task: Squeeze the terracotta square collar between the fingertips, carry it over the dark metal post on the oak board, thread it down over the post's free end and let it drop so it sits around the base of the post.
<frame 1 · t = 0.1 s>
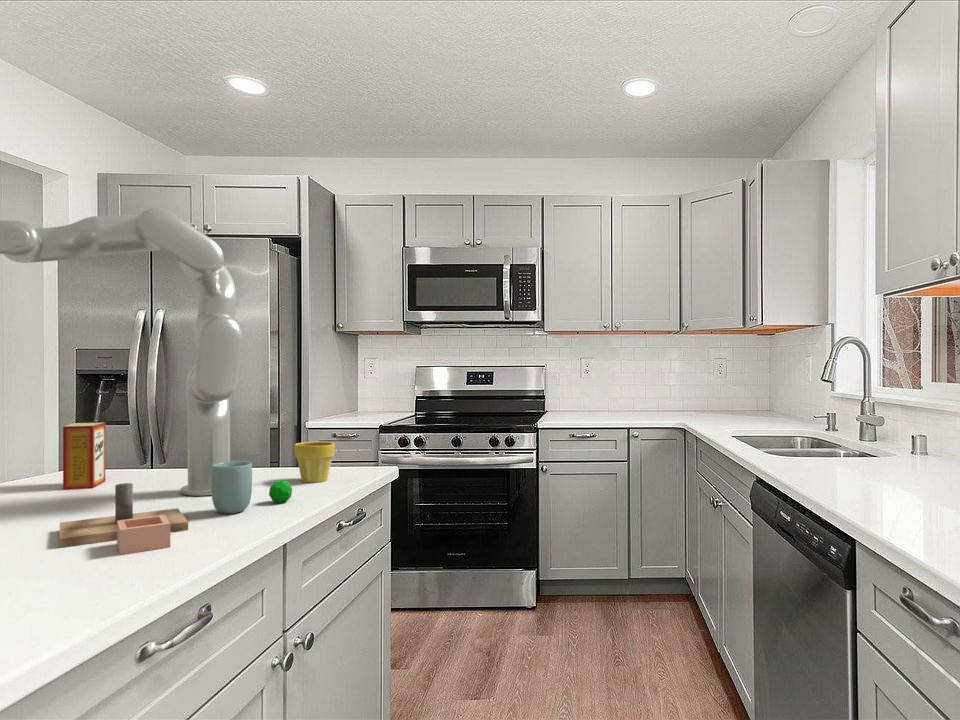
collar: (143, 545, 106), on the worktop
polyhedron: (280, 503, 139), on the worktop
post board: (124, 530, 116), on the worktop
plant pot: (314, 481, 165), on the worktop
cup: (231, 512, 130), on the worktop
baking soda box: (84, 486, 159), on the worktop
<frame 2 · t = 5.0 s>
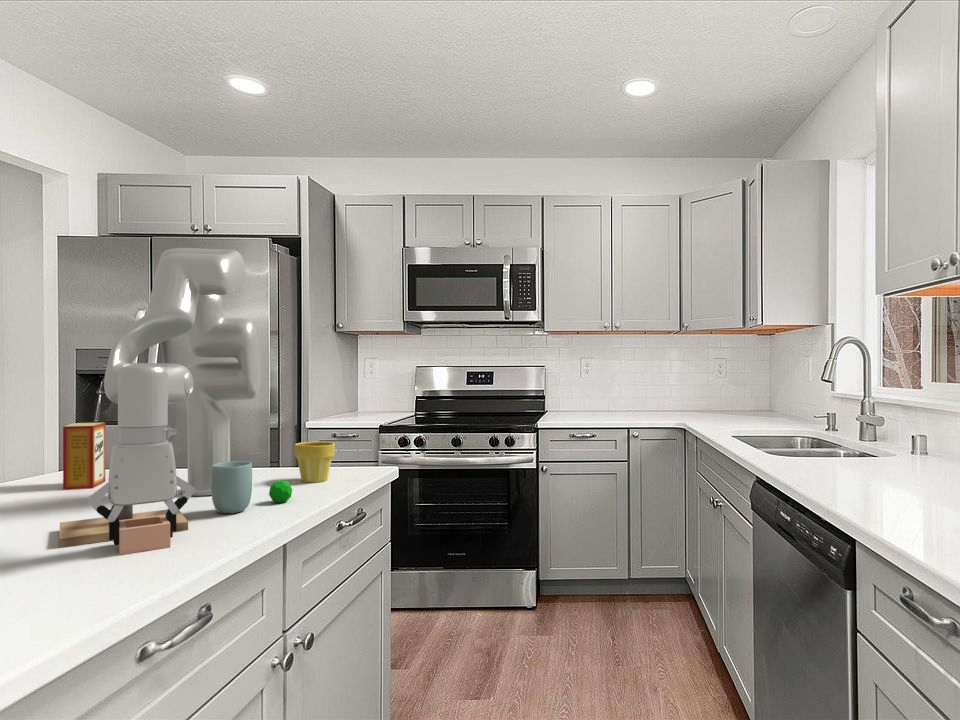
hand: (143, 539, 106), 1 cm above the worktop, tool pointing down, fingers closed on collar, 7 cm apart
collar: (143, 545, 106), on the worktop, touching gripper
everything else where it was.
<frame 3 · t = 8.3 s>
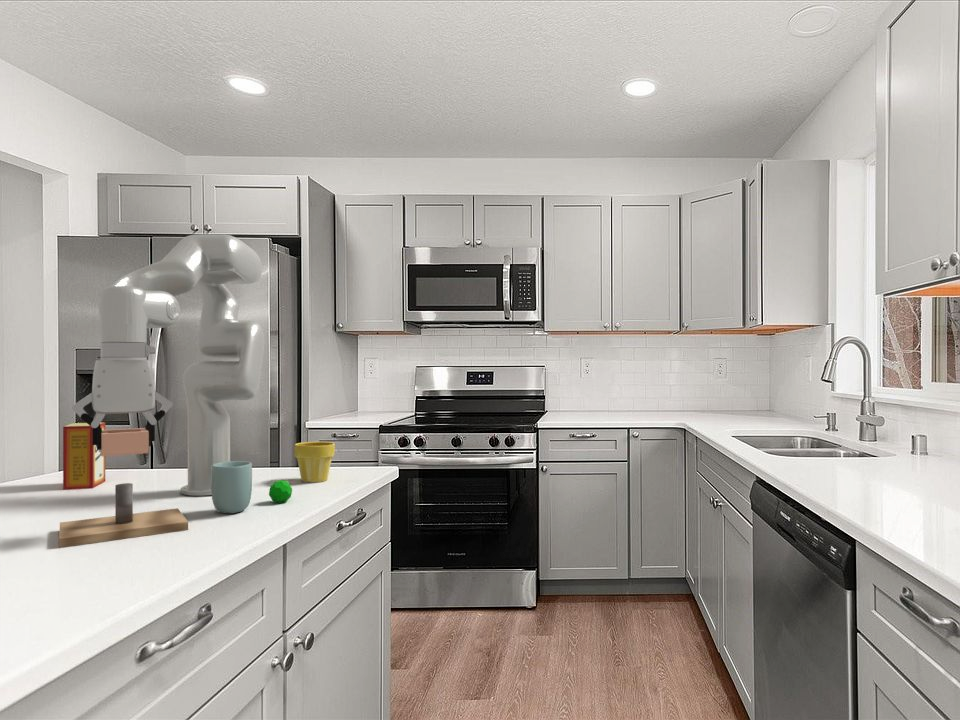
hand: (124, 446, 116), 16 cm above the worktop, tool pointing down, fingers closed on collar, 7 cm apart
collar: (124, 452, 116), point 15 cm above the worktop, touching gripper
everything else where it was.
when the fingers open (5 cm above the worktop, at t = 11.7 s): collar drops 2 cm, resting on post board.
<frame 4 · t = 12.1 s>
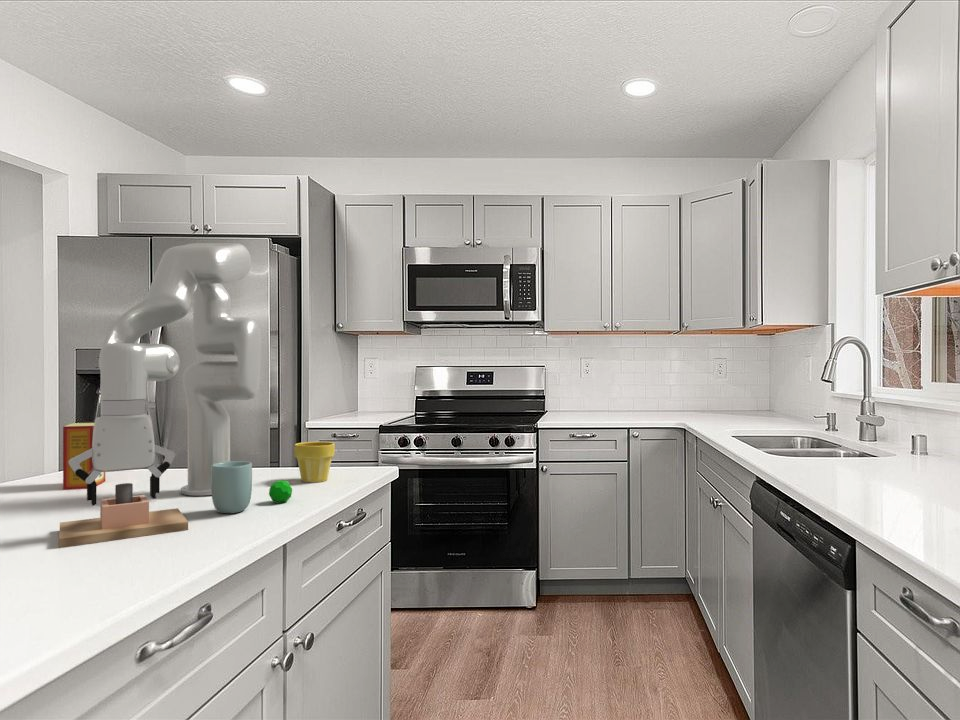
hand: (124, 500, 116), 6 cm above the worktop, tool pointing down, fingers open, 9 cm apart
collar: (124, 522, 116), point 1 cm above the worktop, touching post board
everything else where it was.
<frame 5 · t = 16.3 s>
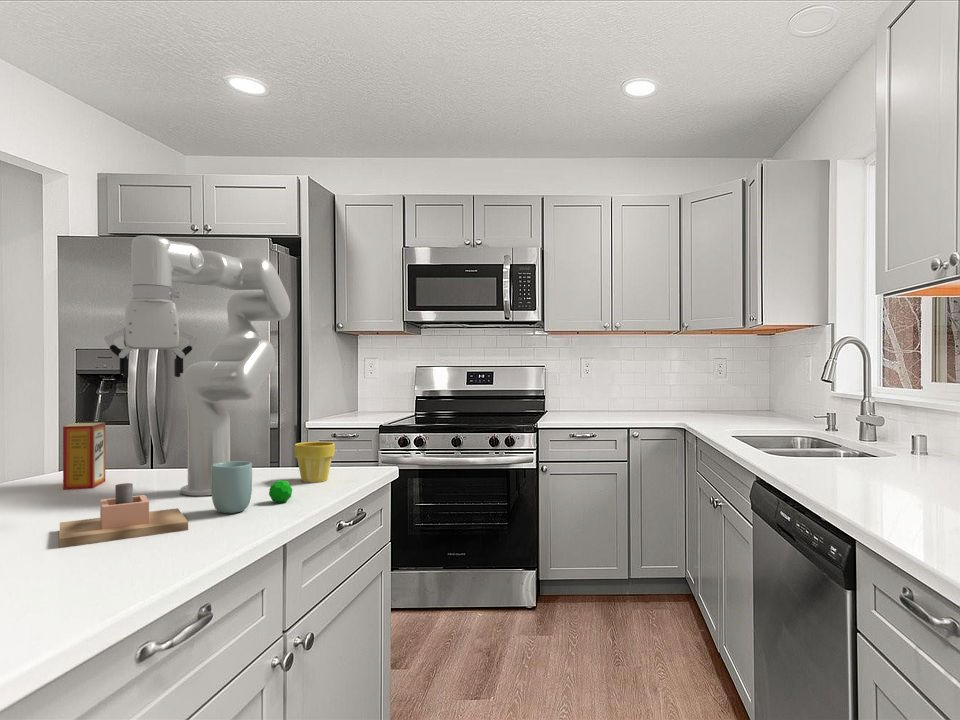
hand: (152, 377, 130), 28 cm above the worktop, tool pointing down, fingers open, 9 cm apart
nothing on the worktop moved.
at the end: collar 0.1 cm from the post board (horizontally); collar point 1.5 cm above the worktop; collar tilted 0° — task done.
